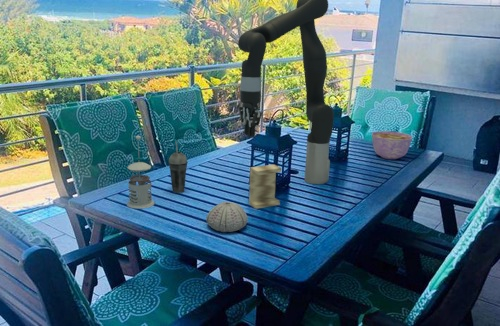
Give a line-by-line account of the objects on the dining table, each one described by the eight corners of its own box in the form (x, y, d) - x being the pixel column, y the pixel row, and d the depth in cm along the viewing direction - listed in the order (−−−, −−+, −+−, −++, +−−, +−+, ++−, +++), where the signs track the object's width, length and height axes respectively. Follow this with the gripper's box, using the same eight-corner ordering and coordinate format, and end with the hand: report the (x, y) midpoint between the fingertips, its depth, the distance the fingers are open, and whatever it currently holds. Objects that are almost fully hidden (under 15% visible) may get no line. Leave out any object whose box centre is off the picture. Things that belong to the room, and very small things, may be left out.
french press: (130, 210, 164) (127, 139, 157) (122, 199, 174) (119, 132, 167) (158, 206, 169) (156, 137, 162) (148, 195, 178) (146, 130, 172)
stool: (272, 200, 178) (273, 164, 174) (279, 204, 174) (281, 167, 170) (249, 204, 173) (250, 167, 169) (255, 208, 169) (257, 171, 165)
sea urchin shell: (214, 237, 145) (214, 213, 143) (200, 221, 157) (200, 198, 155) (254, 231, 150) (255, 207, 148) (238, 216, 162) (238, 194, 160)
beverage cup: (191, 189, 187) (190, 140, 181) (182, 195, 180) (182, 144, 175) (174, 187, 189) (173, 138, 183) (165, 192, 182) (164, 142, 177)
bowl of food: (367, 151, 254) (369, 130, 251) (406, 153, 251) (408, 132, 248) (371, 161, 235) (373, 138, 232) (413, 163, 232) (416, 140, 229)
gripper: (269, 91, 169) (267, 138, 173) (250, 86, 180) (249, 131, 185) (251, 92, 165) (249, 140, 170) (232, 87, 177) (231, 132, 181)
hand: (249, 135), depth 177 cm, fingers open, 3 cm apart
